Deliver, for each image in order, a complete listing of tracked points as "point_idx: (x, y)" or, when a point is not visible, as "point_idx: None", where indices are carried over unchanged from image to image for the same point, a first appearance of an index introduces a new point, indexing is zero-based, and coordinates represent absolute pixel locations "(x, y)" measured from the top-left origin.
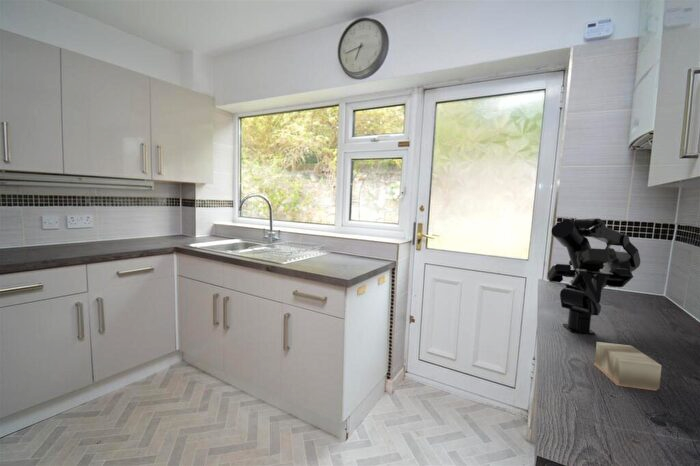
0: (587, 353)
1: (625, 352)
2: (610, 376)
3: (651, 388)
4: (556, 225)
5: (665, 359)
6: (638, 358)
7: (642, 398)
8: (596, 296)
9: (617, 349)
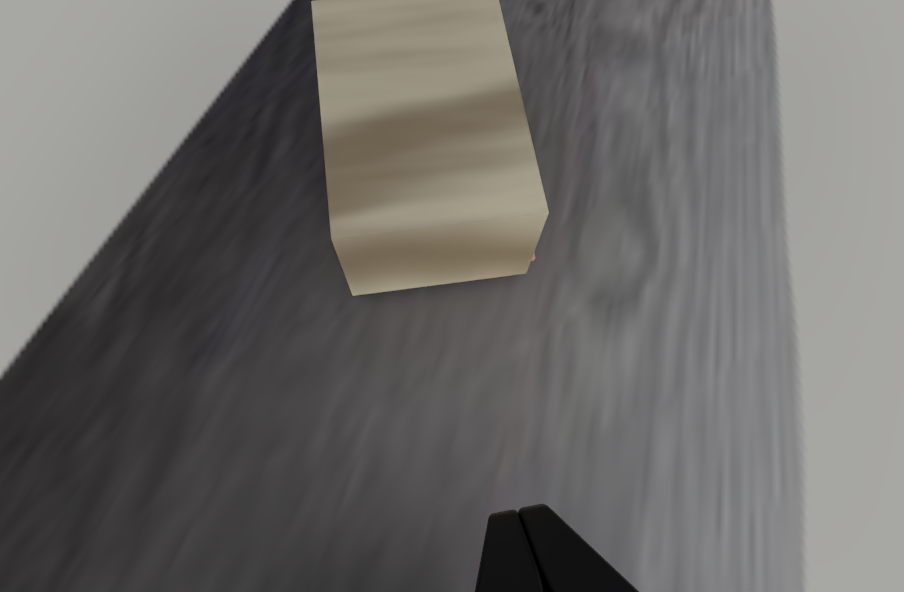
0: (525, 436)
1: (425, 102)
2: None
3: None
4: None
5: (13, 574)
6: (388, 45)
7: None
8: (559, 558)
9: (456, 127)
